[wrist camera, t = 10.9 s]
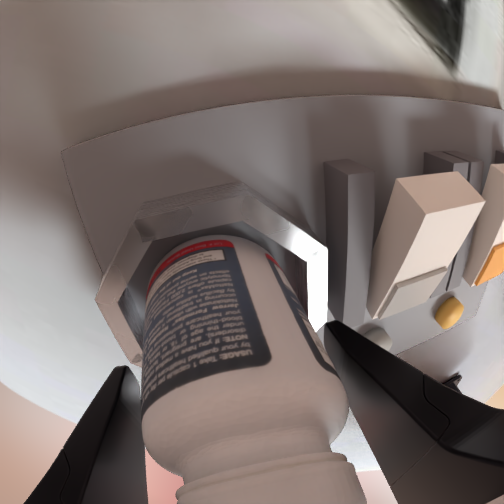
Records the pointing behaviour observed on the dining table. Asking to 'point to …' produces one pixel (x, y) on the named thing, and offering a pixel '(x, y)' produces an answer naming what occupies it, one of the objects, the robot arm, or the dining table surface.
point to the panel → (298, 187)
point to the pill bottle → (239, 382)
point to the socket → (197, 218)
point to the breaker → (419, 239)
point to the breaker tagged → (488, 232)
